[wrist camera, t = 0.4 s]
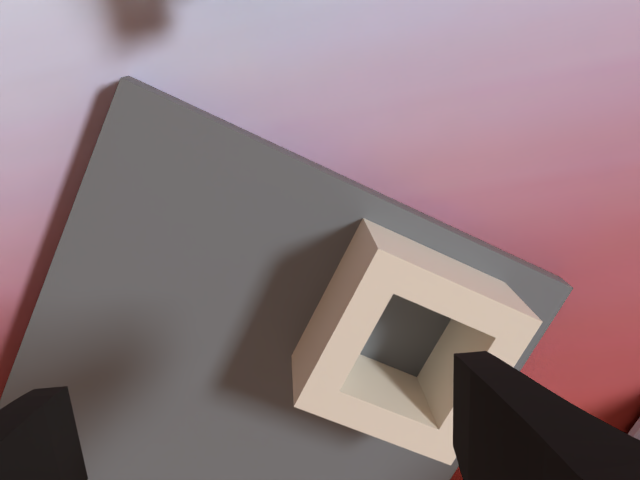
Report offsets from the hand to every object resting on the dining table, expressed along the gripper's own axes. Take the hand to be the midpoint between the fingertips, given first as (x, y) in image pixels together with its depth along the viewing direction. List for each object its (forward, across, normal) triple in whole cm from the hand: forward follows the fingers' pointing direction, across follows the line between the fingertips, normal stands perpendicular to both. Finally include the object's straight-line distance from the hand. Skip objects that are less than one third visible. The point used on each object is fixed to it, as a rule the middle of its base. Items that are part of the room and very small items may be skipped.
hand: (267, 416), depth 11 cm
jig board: (+10, +3, +8) cm, 13 cm away
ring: (+8, -4, +2) cm, 10 cm away
